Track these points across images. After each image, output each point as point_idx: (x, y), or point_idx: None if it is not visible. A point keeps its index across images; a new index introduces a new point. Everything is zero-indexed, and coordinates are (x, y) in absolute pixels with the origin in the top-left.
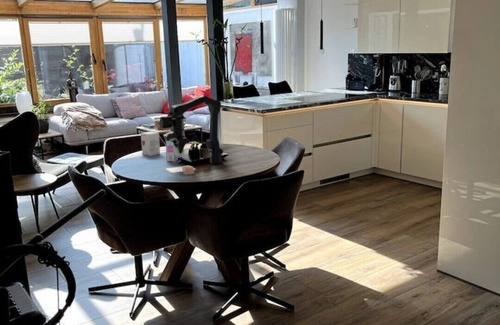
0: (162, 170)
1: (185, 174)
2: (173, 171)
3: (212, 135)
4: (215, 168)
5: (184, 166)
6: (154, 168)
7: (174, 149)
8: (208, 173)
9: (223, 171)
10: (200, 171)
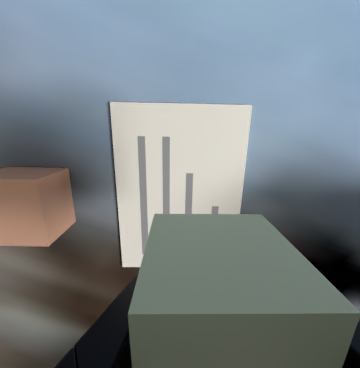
0: (225, 68)
1: (5, 167)
2: (137, 128)
3: None
4: None
5: None
6: (330, 30)
7: (276, 266)
8: (2, 288)
9: (17, 353)
10: (66, 271)
